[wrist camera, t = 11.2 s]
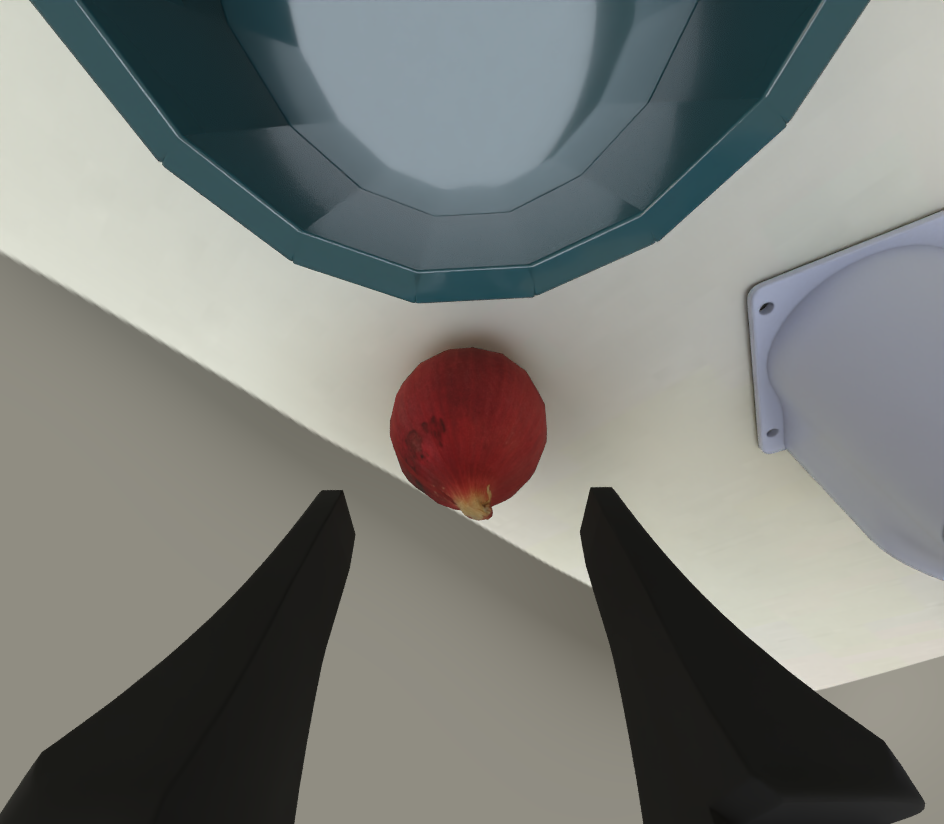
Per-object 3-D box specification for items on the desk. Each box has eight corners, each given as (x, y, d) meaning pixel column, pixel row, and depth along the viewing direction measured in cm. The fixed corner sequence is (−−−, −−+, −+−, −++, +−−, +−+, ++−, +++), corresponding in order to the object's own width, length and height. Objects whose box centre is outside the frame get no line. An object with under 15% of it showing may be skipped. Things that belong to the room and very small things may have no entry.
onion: (421, 432, 20) (399, 579, 14) (388, 326, 17) (338, 458, 11) (538, 416, 20) (570, 563, 13) (527, 303, 17) (564, 428, 10)
